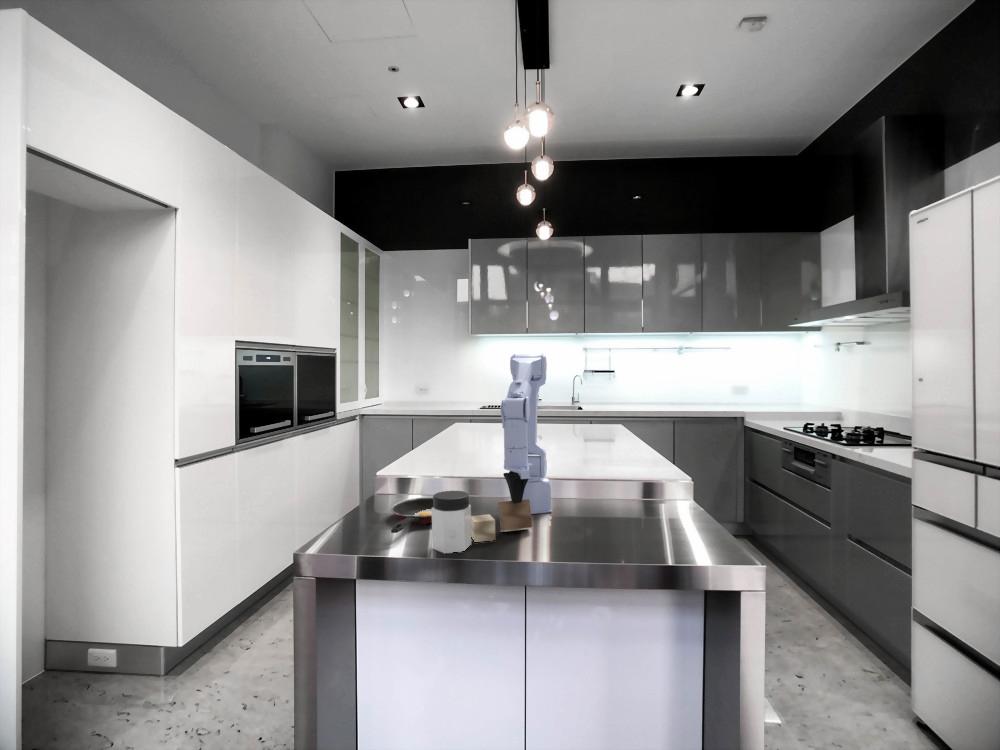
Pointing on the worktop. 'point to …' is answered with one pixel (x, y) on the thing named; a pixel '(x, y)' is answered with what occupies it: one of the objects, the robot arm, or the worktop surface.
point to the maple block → (482, 528)
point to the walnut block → (515, 515)
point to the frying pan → (412, 512)
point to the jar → (451, 521)
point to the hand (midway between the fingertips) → (516, 502)
